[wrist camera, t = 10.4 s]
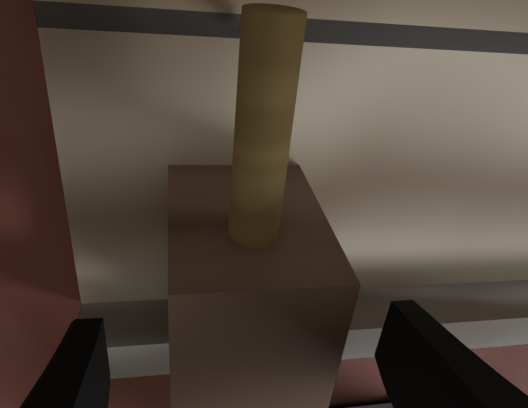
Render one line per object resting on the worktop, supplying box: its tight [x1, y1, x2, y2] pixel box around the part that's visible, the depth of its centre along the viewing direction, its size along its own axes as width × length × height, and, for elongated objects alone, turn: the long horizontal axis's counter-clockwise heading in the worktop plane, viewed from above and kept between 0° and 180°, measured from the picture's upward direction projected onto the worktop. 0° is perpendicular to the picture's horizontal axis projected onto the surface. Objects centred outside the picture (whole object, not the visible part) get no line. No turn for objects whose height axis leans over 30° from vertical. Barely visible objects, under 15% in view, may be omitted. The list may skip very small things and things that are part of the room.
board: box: [33, 0, 528, 379], centre depth 16 cm, size 13×28×4 cm, turn 85°
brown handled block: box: [168, 3, 361, 408], centre depth 12 cm, size 10×4×6 cm, turn 175°
